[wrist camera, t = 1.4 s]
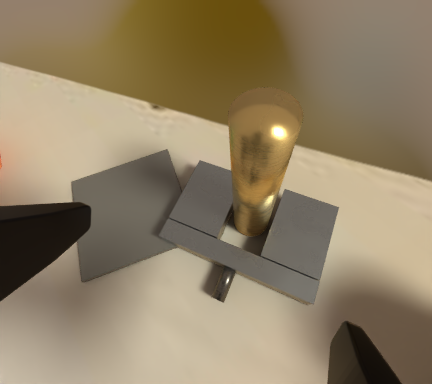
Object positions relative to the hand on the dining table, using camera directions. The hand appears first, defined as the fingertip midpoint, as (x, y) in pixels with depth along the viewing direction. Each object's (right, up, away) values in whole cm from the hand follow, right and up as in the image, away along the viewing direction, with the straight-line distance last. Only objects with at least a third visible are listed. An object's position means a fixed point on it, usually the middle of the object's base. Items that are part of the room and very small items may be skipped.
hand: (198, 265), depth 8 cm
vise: (+3, -2, +13) cm, 13 cm away
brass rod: (+4, 0, +14) cm, 14 cm away
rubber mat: (-7, +1, +15) cm, 17 cm away
